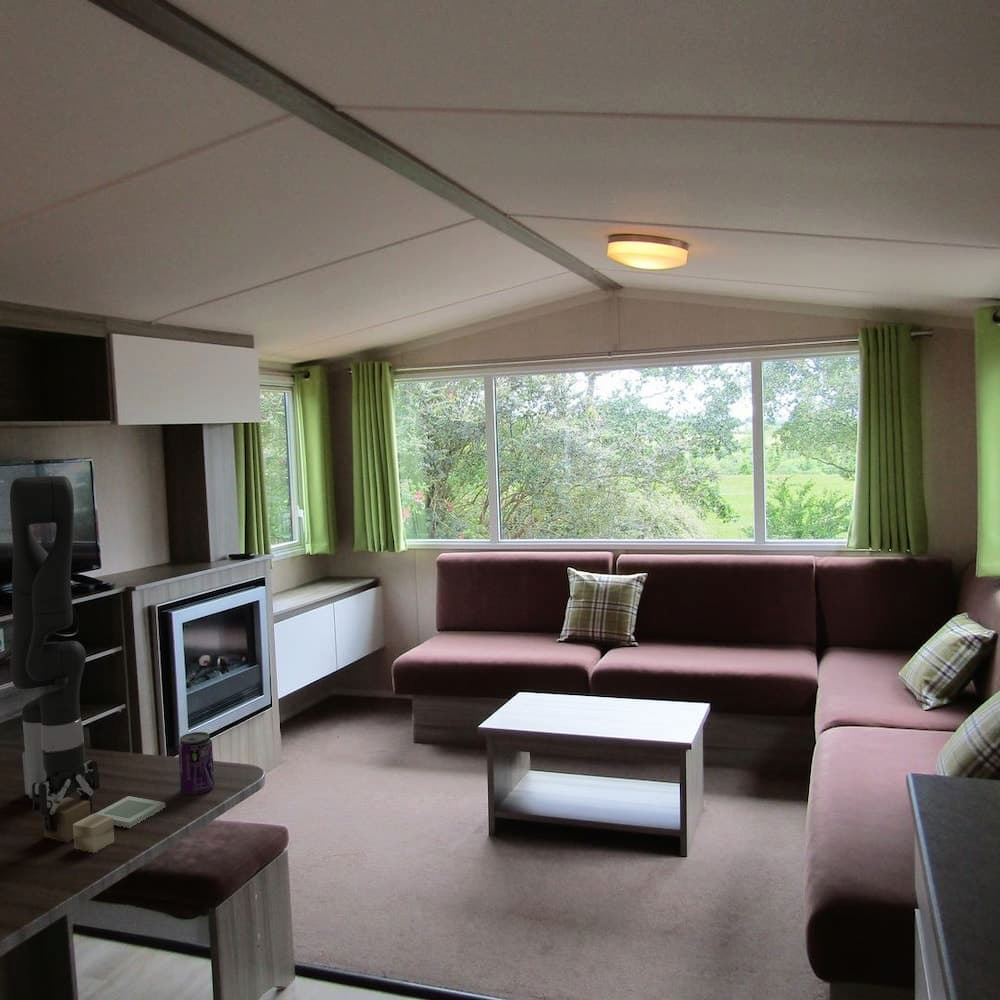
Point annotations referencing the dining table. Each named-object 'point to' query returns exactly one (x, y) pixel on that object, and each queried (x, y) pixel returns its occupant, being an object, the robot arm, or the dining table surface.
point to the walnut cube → (68, 817)
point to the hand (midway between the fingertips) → (69, 822)
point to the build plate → (131, 811)
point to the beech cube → (93, 833)
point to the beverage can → (196, 763)
